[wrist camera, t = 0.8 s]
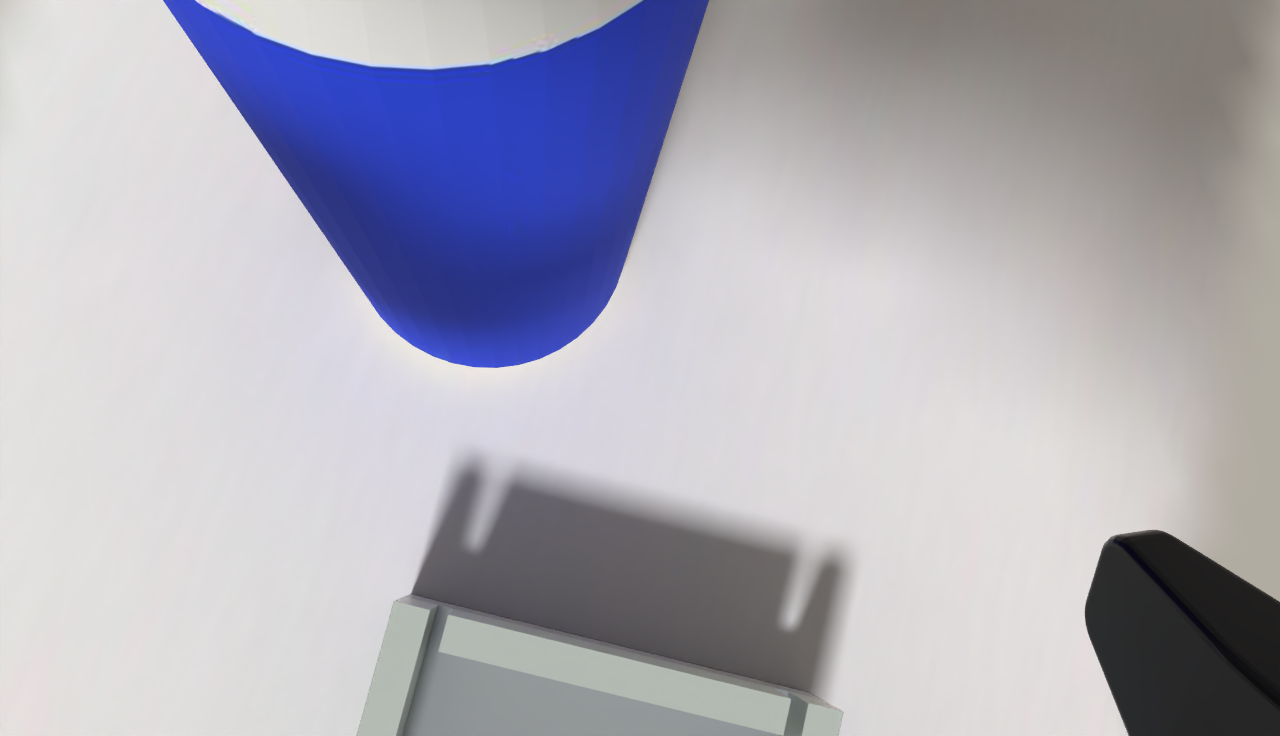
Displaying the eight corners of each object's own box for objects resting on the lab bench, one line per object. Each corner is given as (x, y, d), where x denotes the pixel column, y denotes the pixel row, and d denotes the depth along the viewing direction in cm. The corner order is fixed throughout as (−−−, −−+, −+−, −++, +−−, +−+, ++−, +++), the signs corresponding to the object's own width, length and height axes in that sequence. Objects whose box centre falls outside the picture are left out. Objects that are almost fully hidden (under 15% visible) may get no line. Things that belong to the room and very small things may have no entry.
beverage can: (673, 206, 22) (944, -451, 8) (530, 424, 21) (521, 164, 7) (454, 66, 22) (297, -861, 8) (302, 277, 21) (-214, -306, 7)
